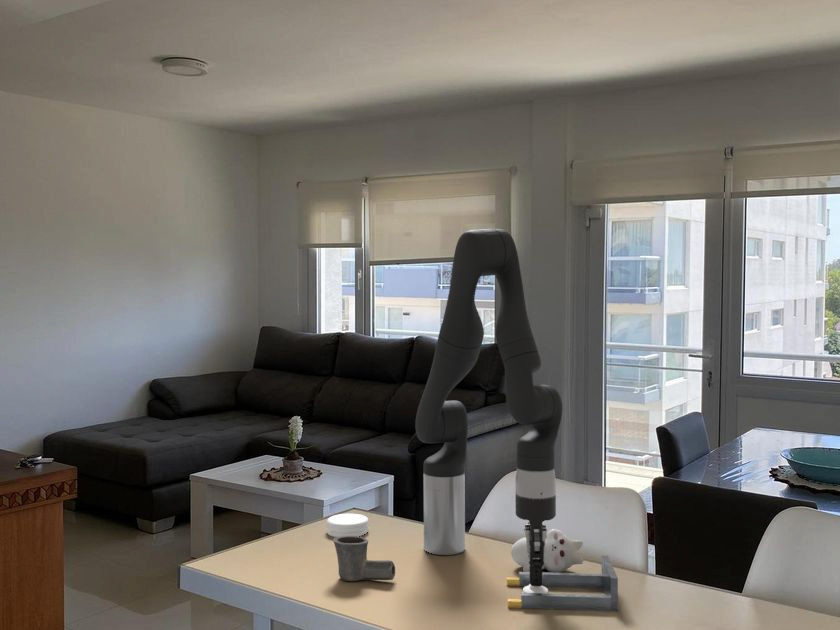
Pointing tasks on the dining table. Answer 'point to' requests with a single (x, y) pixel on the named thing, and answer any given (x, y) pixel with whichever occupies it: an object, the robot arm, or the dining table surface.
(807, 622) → the dining table surface
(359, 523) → the round white light
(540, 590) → the chess piece
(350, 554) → the pipe
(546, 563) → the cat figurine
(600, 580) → the bracket
